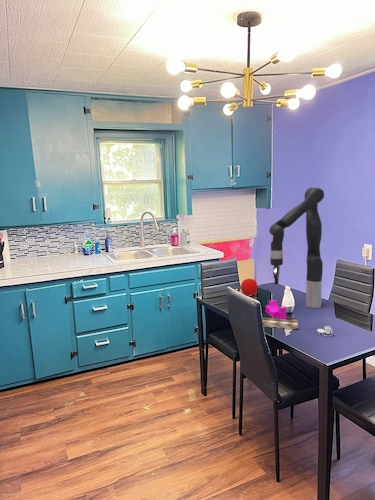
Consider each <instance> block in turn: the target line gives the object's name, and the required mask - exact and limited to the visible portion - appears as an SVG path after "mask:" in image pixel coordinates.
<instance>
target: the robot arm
mask: <svg viewBox="0 0 375 500" xmlns="http://www.w3.org/2000/svg"><path fill="white" fill-rule="evenodd" d="M324 197H325V192H324V190H323V189H321V188H320V187H309V188H308V189H306V190H305V193H304V200H303V201H302V202H300V203H299V204H298V205H296V206H295V207H293V208H291V210H289V211H287V213H286V214H285V215H283V216H282V217H281V218H280V219H279V220H277V221H275V222H274V223H273V224H272V225H271V226H270V228H269V234H270V235H271V236H272V241H271V242H270V261H269V262H270V265H271V266H273V268H272V271H273V272H272V274H273V279H274V285H279V279H280V273H281V272H280V271H281V267H280V266H282V265H284V264H283V263H284V252H283V243H284V237H285V229H286V228H289V227H291V226H292V225H293V224H294V223H295V222H296V221H297V220H298V219H299V218H301V217H302V216H303V215H304V214H305V213H306V214H305V223H306V224H305V232H306V233H305V235H306V236H305V237H306V243H307V253H306V259H305V261H306V282H305V283H306V284H305V285H306V288H305V295H306V296H305V306H306V307H308V308H312V309H317V308H318V309H319V308H320V309H321V308H322V282H323V281H322V280H323V267H324V264H323V263H324V262H323V259H322V257H321V240H322V235H323V234H322V232H323V230H322V229H323V228H322V221H321V217H320V215H319V210H318V205H319V203H320V202H322V201H323V199H324Z"/></svg>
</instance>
